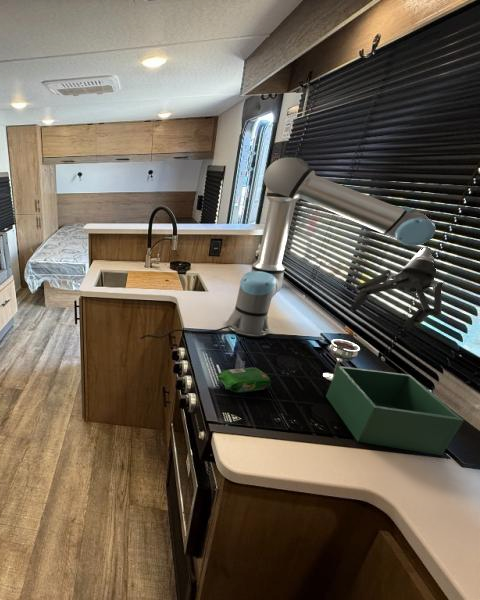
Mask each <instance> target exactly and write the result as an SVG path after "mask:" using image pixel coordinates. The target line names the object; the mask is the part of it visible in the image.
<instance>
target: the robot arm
mask: <svg viewBox="0 0 480 600" xmlns="http://www.w3.org/2000/svg"><path fill="white" fill-rule="evenodd" d="M263 182H264V185H265V187H266V189H267V190H266V195H265V197H266V199H267V200H268V201H269V202H268V207H267V213H266V218H265V223H264V227H263V232H262V237H261V242H260V244H261V246H260V251H259V254H258V255H257V260H256V261H255V262H254V263H252V267H251V269H250V270H251V271H248V272H246V273H244V274H243V275H242V277H241V279H240V282H239V287H238V293H237V297H236V303H235V307H234V310H233V311H232V313H230V316H229V317H228V319H227V321H226V326H224V327H220V328H218V329H212V330H190V329H182V328H179V329H178V328H176V329H172V330H169V331H168V332H167V333H165V334H162V335H154V334H144V335H142V336H141V337H140V338H139V339H140V340H143V339H144V338H147V337H148V338H149V337H150V338H156V339H161V338H165V337H166V336H168V335H169V334H171V333H174V332H186V333H191V334H208V333H214V332H215V333H216V332H219V331H223V330H226V329H228V330H229V331H231V332H232V333H233V334H235V335H239V336H241V337H245V338H249V339H261V338H265V337H267V336H268V334H269V329H270V327H269V319H268V313H269V310H270V306H271V302H272V299H273V298H274V296H275V295H277V293H278V292H279V291H280V290H281V288H283V286H284V279H285V278H284V275H285V274H284V273H285V270H286V268H285V266H284V264H283V263H282V262H283V258H284V257H283V256H284V255H285V250H286V246H287V241H288V237H289V233H290V228H291V224H292V220H293V216H294V212H295V208H296V204H297V202H298V201H299V200H300V199H301V200H303V201H306V202H308V203H310V204H313V205H315V206H318V207H320V208H323V209H324V210H326V211H328V212H332V213H334V214H336V215H339V216H341V217H343V218H346V219H348V220H350V221H353V222H355V223H358V224H360V225H363V226H365V227H367V228H369V229H372V230H374V231H377V232H379V233H381V234H384V235H386V236H388V237H391V238H392V239H395V240H396V241H397V242H398V243H400V244H403V245H405V246H409V247H413V246H414V247H415V246H422V245H421V244H424V243H426V242H428V241H429V240H430V239H432V237H433V236H434V234H435V230H436V226H435V223H434V222H433V221H432V220H430V219H429V218H428V217H427V216H426V215H427V214H425V213H423V212H421V211H420V210H417V209H415V208H412V207H408V206H406V205H405V206H400V207H398V206H396V205H393V204H391V203H388V202H386V201H382V200H380V199H378V198H375V197H374V196H373V197H372V196H370V195H367V194H365V193H362V192H360V191H358V190H355V189H352V188H349V187H346V186H344V185H343V184H339V183H336V182H334V181H331V180H329V179H326V178H323V177H321V176H318V175H316V172H315V170H313V169H311V168H310V166H309V164H308V162H306V160H304V159H302V158H300V157H287V156H286V157H281V158H278V159H276V160H274V161H273V162H272V163H271V164H270V165H268V167H267V168H266V170H265V172H264V176H263ZM420 212H421V213H420ZM422 213H423V214H422ZM424 214H425V215H424ZM422 248H423V247H422ZM422 248H421V249H422ZM421 249H419V251H418V252H417V253H416V254H415V255H414V256H413V257H412V258H411V259H410V261H408V263H406V265H405V266H404V267H403V268H402V269H401V270H400V272H398V273H394V272H391V270H390V269H386V270H384V271H383V272H382V273H381V274H379V275H377V276H375V277H373V278H371V279H368V280H367V281H365V282H362V283H360V284H358V285H355V289H356V292H357V293H358V294H357V295H355V297H354V299H353V301H354V302H353V303H351V305H350V307H349V310H350V312H351V313H356V312H357V311H358V309H360V307H361V306H362V305H363V304H364V303H365V302H366V301H367V300H368V298H369V296H371V295H374V294H377V293H381V292H385V291H389V290H397V289H398V291H404V292H407V293H409V294H410V293H415V294H416V295H417V298H418V300H419V303H420V305H421V308H418V309H417V310H416V311H415V313H413V314H412V316H410V317H409V319H408V320H407V321H405V323H404V324H403V325H402V328H403V331H404V332H407V333H408V332H409V331H410V330H411V329H412V328H413V326H414V325H415V324H416V323H417V324H421V323H423V322H424V321H425V320H426V319H427V318H428V317H430V316H436V317H441V316H442V305H443V303H442V302H443V301H442V299H441V290H442V284H443V283H444V282H443V281H442V282H443V283H442V282H441V281H440V282H438V285H437V282H434V281H435V280H434V276H435V273H436V269H435V268H434V266H433V265H434V263H433V262H432V261H434V257H433V256H432V254H431V252H430V251H431V249H430V248H428V247H425V248H423V249H422V250H421ZM433 280H434V281H433ZM432 281H433V282H432ZM430 288H432V291H433V292H434V294H433V295H434V299H433V308H431V307H430V305H429V302H428V299H427V297H426V294H425V293H424V290H426V289H430Z"/></svg>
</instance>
